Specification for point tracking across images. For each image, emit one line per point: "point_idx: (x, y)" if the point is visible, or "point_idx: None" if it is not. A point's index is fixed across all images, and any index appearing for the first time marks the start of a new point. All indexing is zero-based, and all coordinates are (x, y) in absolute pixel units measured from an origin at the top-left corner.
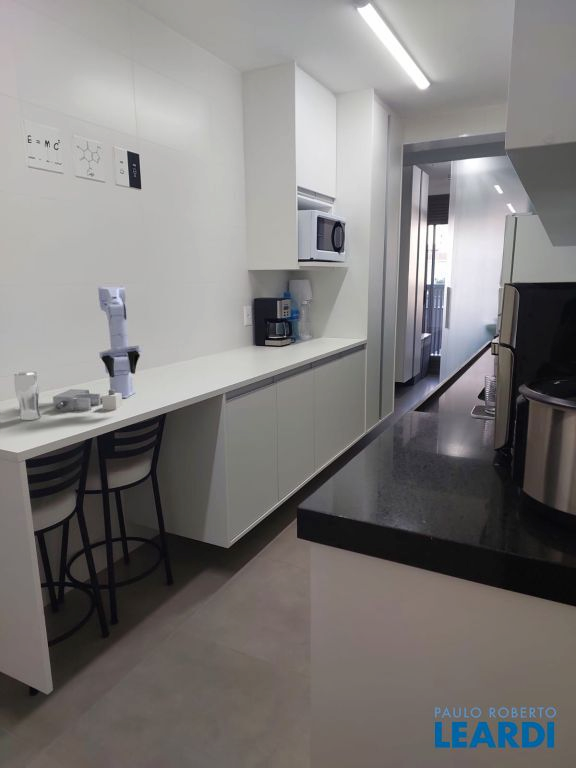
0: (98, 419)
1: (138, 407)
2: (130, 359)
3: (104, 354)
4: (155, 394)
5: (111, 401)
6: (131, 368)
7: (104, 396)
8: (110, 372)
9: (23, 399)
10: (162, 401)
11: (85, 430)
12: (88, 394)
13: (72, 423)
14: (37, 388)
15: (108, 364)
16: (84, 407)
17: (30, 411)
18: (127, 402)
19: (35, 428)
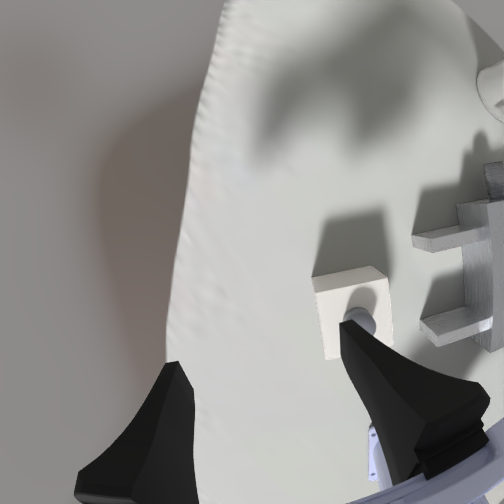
0: (284, 123)
1: (244, 333)
2: (137, 437)
3: (481, 468)
4: (294, 483)
5: (335, 281)
6: (159, 381)
7: (373, 280)
8: (352, 334)
9: None
10: (213, 422)
11: (234, 19)
12: (475, 322)
13: (337, 58)
14: None
15: (390, 377)
16: (434, 232)
17: (494, 66)
18: (334, 387)
19: (395, 5)
